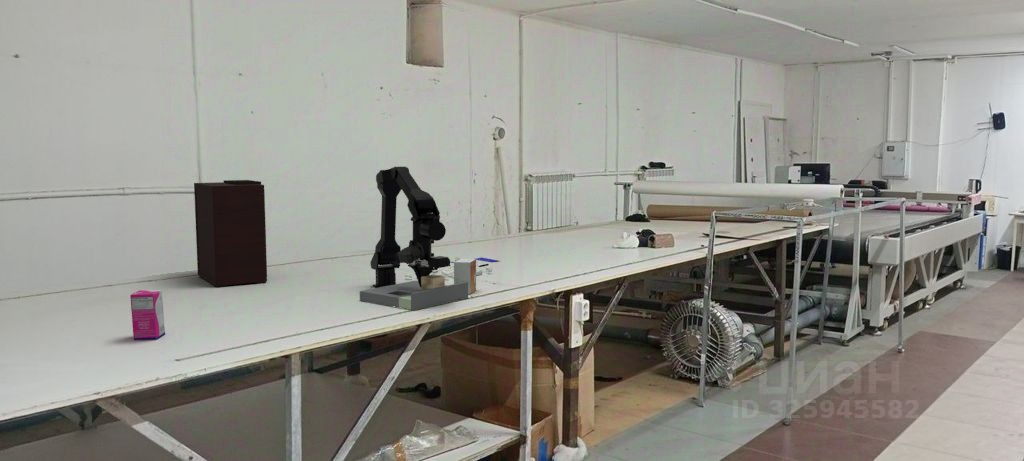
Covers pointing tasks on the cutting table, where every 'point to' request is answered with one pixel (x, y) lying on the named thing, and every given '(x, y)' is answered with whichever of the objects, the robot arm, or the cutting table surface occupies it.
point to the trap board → (414, 295)
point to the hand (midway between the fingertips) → (421, 287)
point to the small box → (466, 273)
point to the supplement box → (147, 314)
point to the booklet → (485, 260)
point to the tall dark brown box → (231, 232)
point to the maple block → (432, 282)
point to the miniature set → (447, 273)
